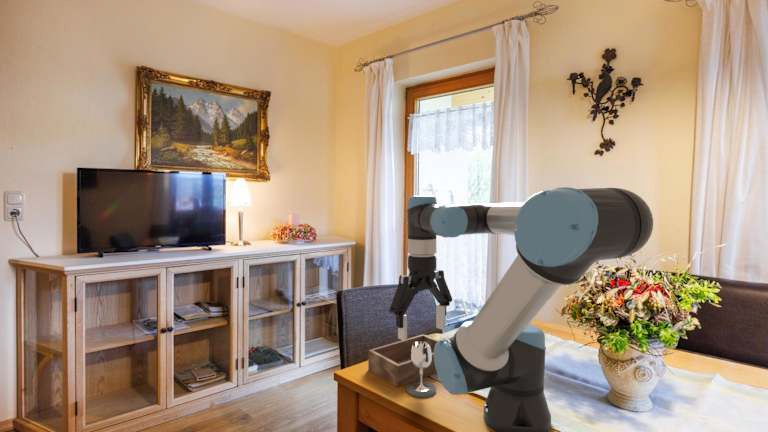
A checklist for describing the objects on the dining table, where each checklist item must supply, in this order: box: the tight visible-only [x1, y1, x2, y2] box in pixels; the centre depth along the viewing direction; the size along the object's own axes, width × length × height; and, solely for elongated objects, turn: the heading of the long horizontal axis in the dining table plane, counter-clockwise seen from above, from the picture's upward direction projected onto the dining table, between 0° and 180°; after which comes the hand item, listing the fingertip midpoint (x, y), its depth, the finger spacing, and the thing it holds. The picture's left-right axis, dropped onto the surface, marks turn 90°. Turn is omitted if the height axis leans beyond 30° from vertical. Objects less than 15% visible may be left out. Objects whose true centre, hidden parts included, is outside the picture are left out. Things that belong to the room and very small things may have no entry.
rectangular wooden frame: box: [367, 333, 439, 388], centre depth 130 cm, size 14×22×6 cm, turn 127°
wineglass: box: [409, 342, 432, 392], centre depth 116 cm, size 6×6×12 cm
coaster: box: [405, 380, 437, 398], centre depth 117 cm, size 8×8×1 cm
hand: (422, 334), depth 115 cm, fingers open, 13 cm apart
